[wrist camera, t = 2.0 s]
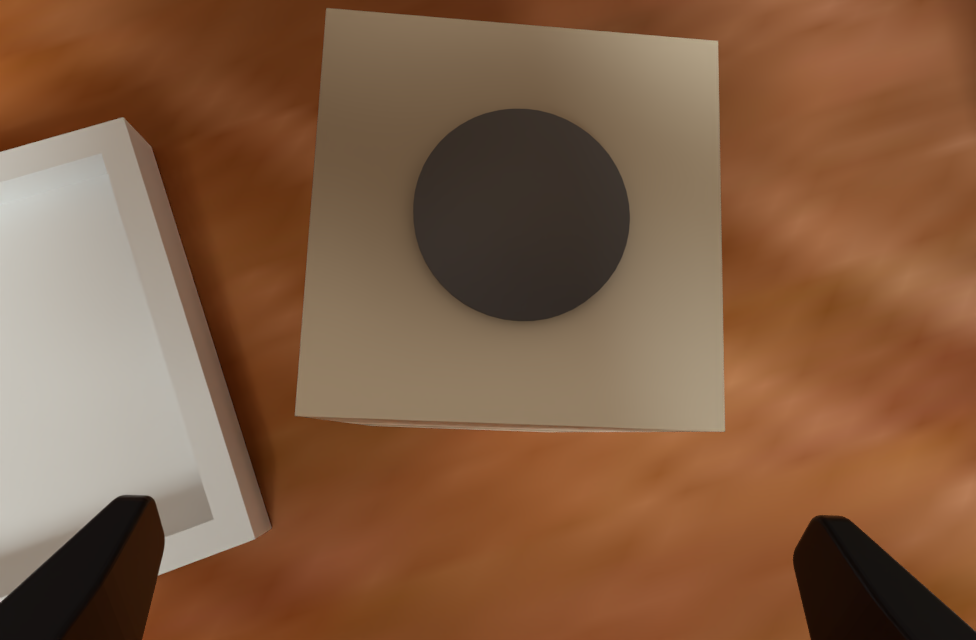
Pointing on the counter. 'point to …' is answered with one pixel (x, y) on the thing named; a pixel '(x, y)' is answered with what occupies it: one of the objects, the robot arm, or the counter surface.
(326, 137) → the beech block
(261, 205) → the counter surface
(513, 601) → the counter surface
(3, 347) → the tray
